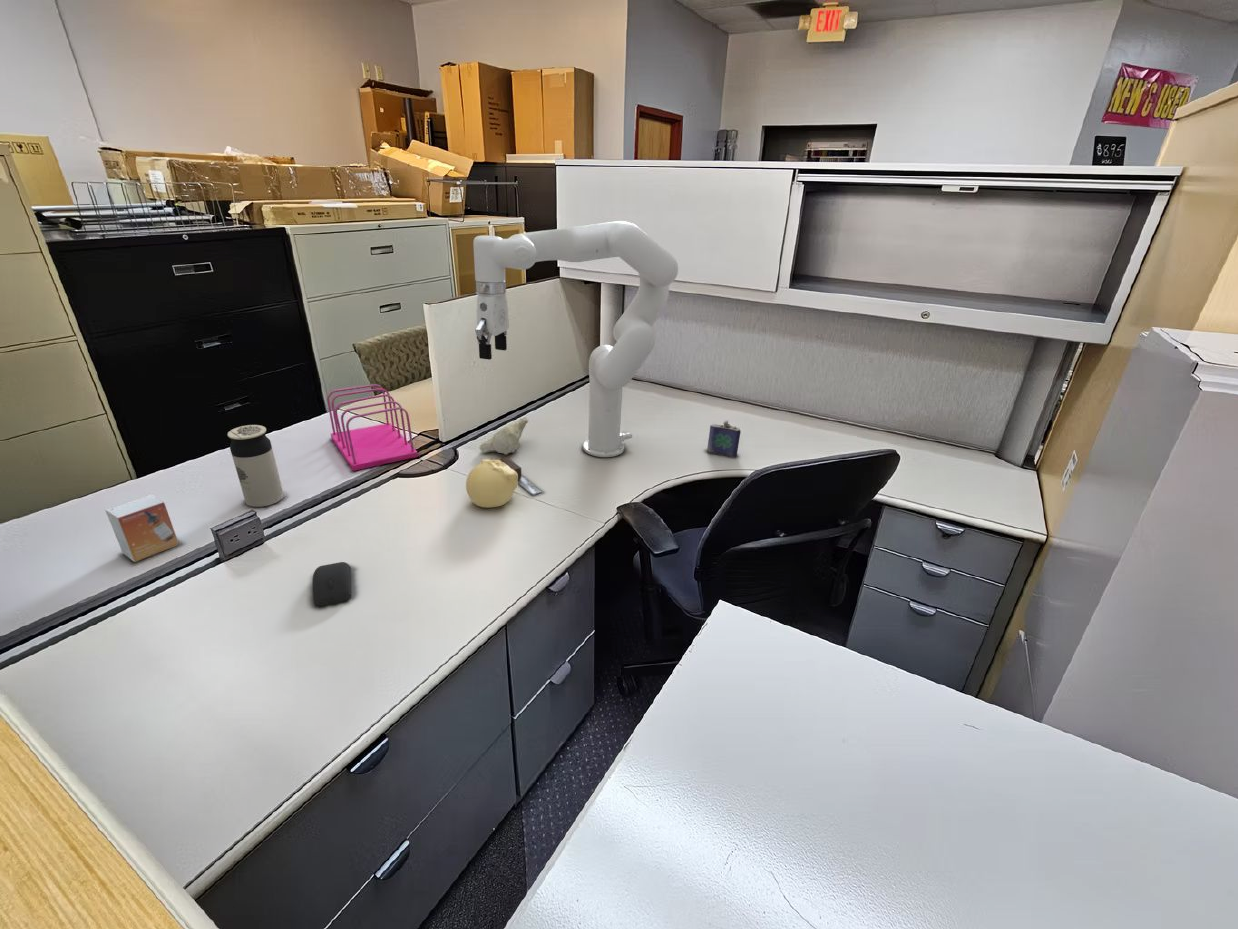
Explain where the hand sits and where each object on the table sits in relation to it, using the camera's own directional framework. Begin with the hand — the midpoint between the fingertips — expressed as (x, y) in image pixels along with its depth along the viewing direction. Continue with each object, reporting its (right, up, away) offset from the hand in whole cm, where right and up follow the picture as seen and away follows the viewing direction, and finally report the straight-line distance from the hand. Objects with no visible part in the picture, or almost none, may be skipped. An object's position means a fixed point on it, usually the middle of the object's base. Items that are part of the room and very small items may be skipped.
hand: (493, 354), depth 149 cm
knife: (+6, -33, +1) cm, 34 cm away
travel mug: (-52, -38, -15) cm, 66 cm away
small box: (-63, -47, -34) cm, 86 cm away
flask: (+65, -26, +22) cm, 74 cm away
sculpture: (+2, -39, -10) cm, 40 cm away
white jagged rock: (0, -25, +18) cm, 31 cm away
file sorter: (-38, -25, +14) cm, 47 cm away
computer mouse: (-22, -53, -41) cm, 71 cm away
